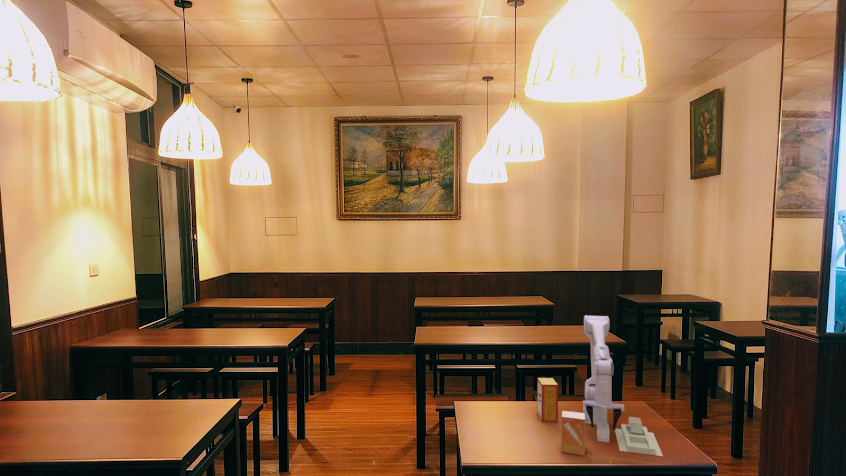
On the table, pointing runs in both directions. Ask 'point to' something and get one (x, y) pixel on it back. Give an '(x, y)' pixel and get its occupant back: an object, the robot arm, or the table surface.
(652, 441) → the cream stepped base
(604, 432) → the block
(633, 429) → the block
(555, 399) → the baking soda box
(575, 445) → the small box
